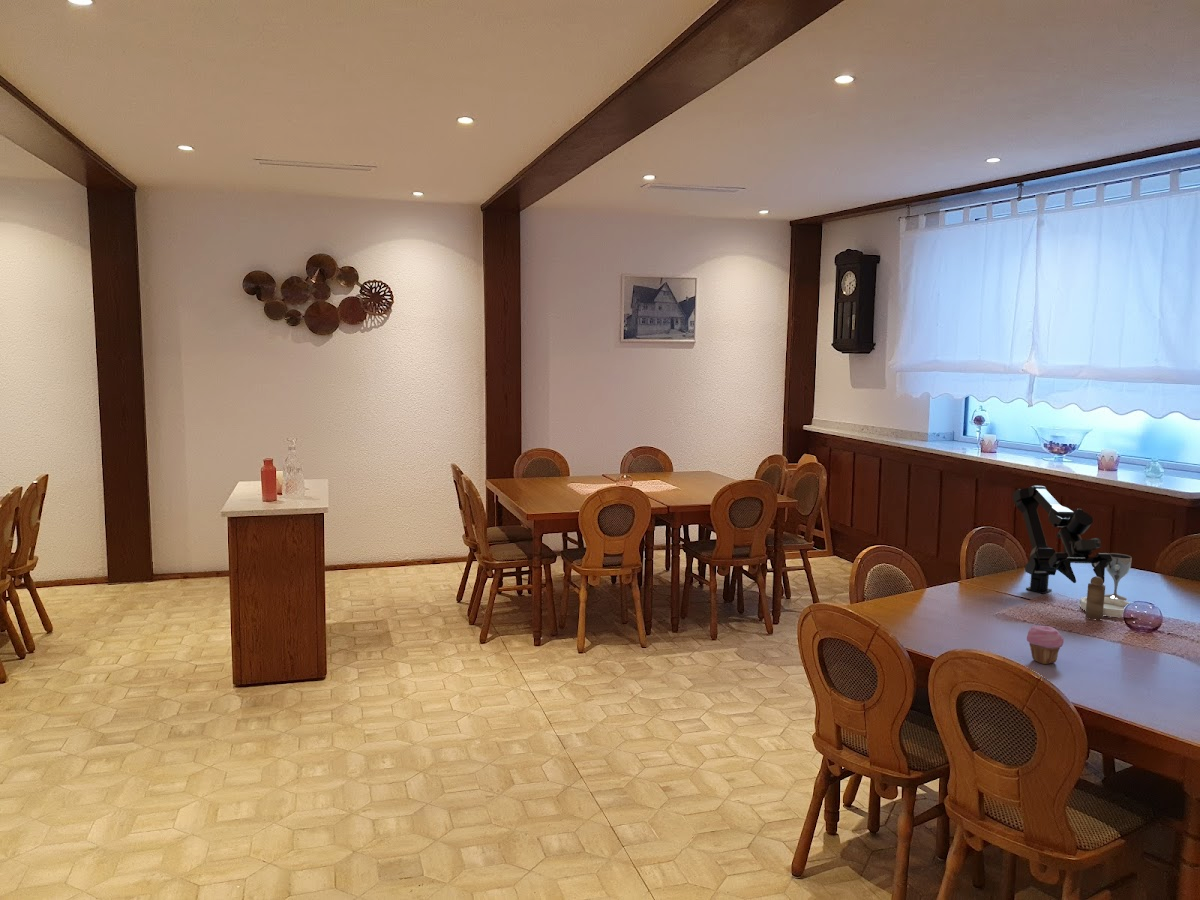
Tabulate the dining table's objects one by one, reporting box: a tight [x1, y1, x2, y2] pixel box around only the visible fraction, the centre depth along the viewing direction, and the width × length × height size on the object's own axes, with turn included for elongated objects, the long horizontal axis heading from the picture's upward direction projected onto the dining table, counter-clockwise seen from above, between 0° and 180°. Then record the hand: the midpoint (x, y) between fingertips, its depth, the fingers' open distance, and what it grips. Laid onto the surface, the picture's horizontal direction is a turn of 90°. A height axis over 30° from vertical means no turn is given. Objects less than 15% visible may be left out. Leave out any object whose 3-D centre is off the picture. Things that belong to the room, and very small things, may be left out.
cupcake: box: [1026, 625, 1065, 665], centre depth 237 cm, size 9×9×10 cm
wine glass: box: [1104, 552, 1133, 601], centre depth 306 cm, size 8×8×15 cm
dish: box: [1079, 595, 1131, 618], centre depth 289 cm, size 16×16×3 cm
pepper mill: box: [1084, 576, 1106, 620], centre depth 279 cm, size 5×5×14 cm
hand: (1089, 582), depth 283 cm, fingers open, 9 cm apart
